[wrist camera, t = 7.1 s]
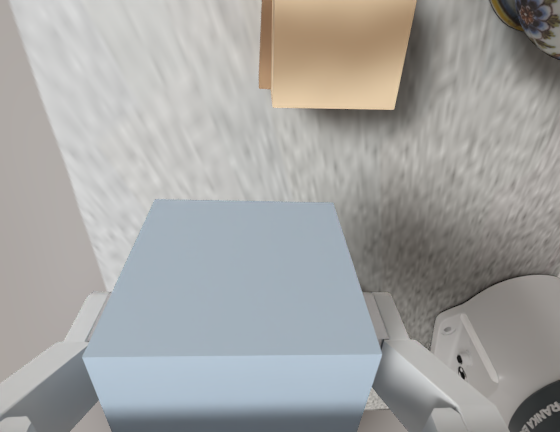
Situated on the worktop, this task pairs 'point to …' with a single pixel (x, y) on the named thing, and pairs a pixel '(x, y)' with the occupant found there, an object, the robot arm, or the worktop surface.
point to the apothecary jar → (533, 21)
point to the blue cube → (235, 323)
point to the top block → (338, 52)
